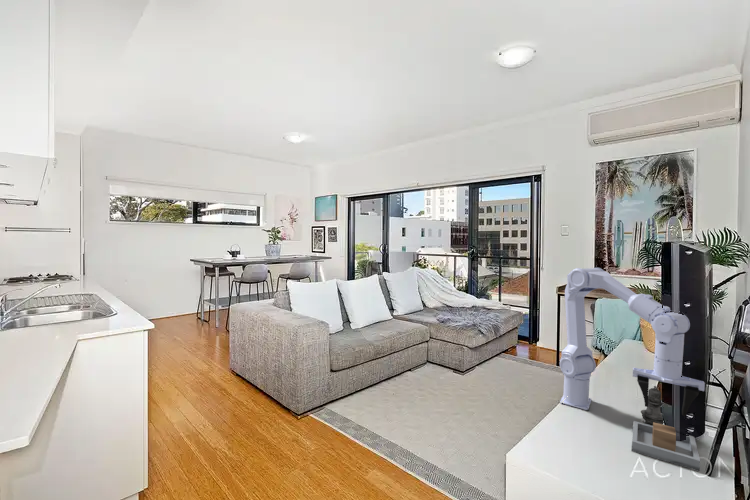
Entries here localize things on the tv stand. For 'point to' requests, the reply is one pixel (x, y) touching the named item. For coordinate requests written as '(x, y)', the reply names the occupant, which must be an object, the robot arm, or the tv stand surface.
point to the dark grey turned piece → (653, 408)
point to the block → (664, 436)
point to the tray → (682, 456)
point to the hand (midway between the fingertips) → (664, 409)
